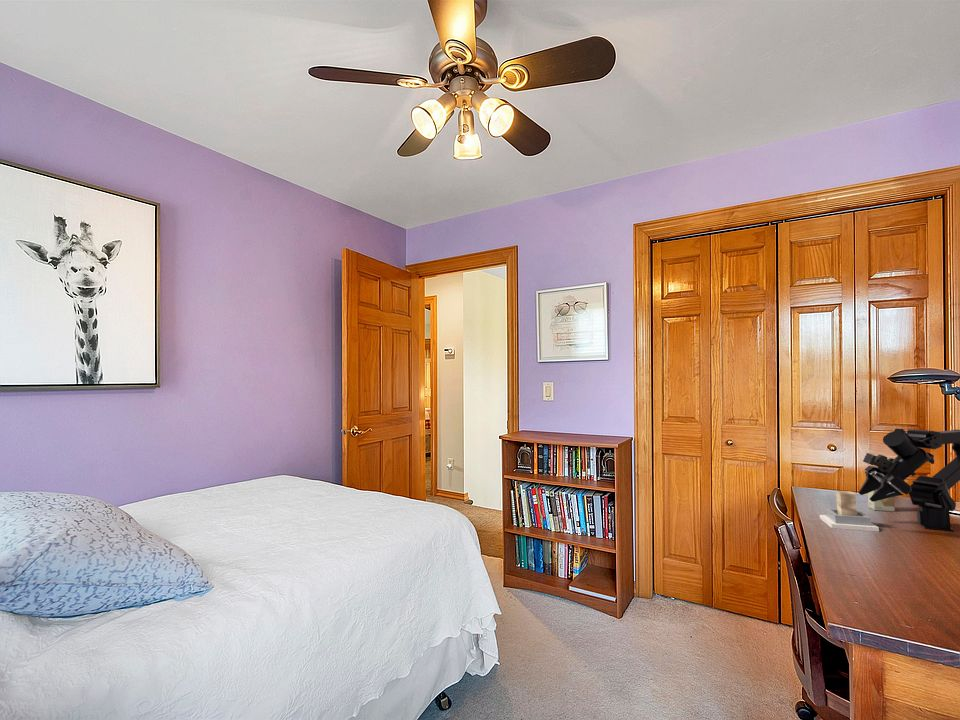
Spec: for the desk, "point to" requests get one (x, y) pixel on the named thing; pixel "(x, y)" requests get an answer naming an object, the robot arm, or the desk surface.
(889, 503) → the skincare box
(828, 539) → the desk surface
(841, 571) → the desk surface
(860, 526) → the square tray
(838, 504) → the block
